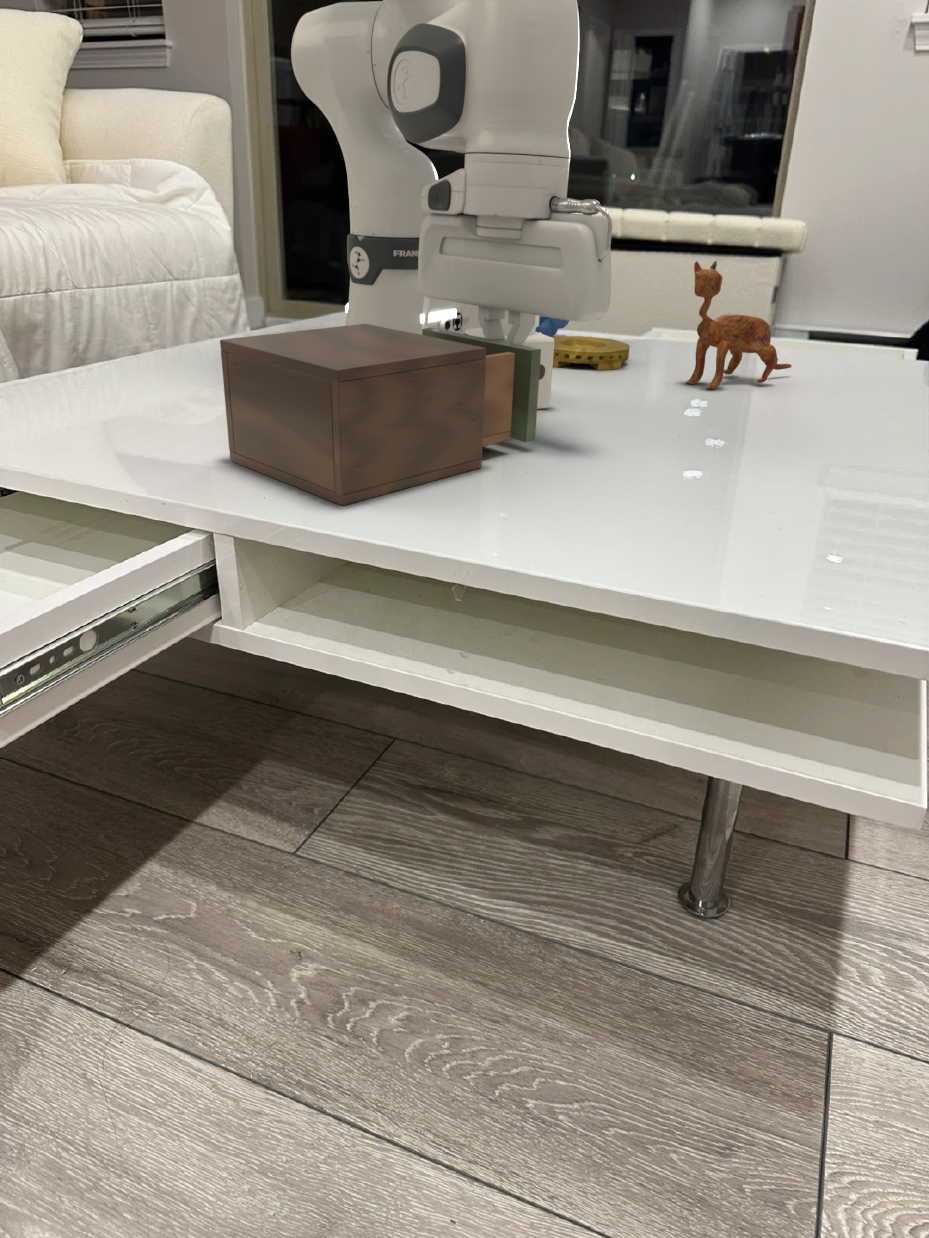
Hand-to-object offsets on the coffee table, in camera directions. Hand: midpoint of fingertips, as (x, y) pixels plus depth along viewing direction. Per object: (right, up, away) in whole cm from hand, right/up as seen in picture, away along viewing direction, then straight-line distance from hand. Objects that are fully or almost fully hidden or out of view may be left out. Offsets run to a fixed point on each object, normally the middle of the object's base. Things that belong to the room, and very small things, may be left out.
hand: (504, 361), depth 83 cm
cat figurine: (+30, +5, +27) cm, 40 cm away
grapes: (+9, +18, +51) cm, 55 cm away
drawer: (-5, -7, -2) cm, 9 cm away
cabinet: (-13, -11, -9) cm, 19 cm away
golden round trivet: (+12, +10, +36) cm, 39 cm away
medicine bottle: (+1, -1, +13) cm, 13 cm away
